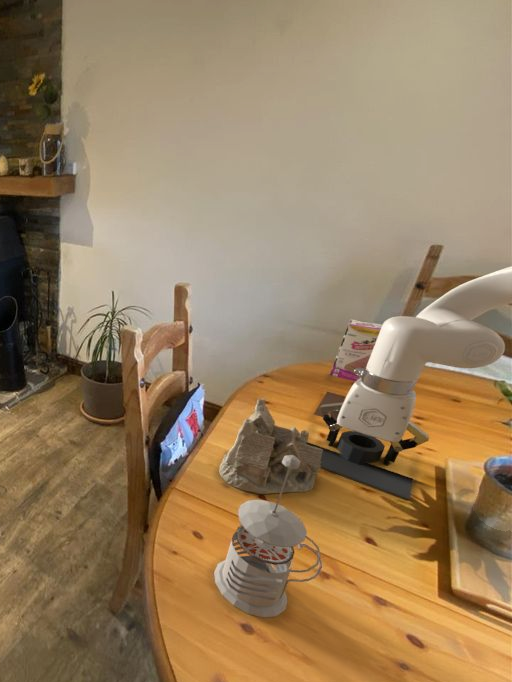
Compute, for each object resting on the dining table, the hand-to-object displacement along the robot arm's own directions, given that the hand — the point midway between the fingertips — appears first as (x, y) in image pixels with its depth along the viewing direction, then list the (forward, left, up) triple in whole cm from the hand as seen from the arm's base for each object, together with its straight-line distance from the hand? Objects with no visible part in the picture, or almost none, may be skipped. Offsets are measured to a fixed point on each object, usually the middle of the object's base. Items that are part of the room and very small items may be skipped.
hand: (357, 452), depth 87 cm
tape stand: (+3, -17, -1) cm, 17 cm away
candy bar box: (+6, -37, -1) cm, 37 cm away
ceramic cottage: (+12, +18, -1) cm, 22 cm away
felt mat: (0, 0, -1) cm, 1 cm away
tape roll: (0, 0, 0) cm, 0 cm away
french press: (+5, +46, -1) cm, 46 cm away
